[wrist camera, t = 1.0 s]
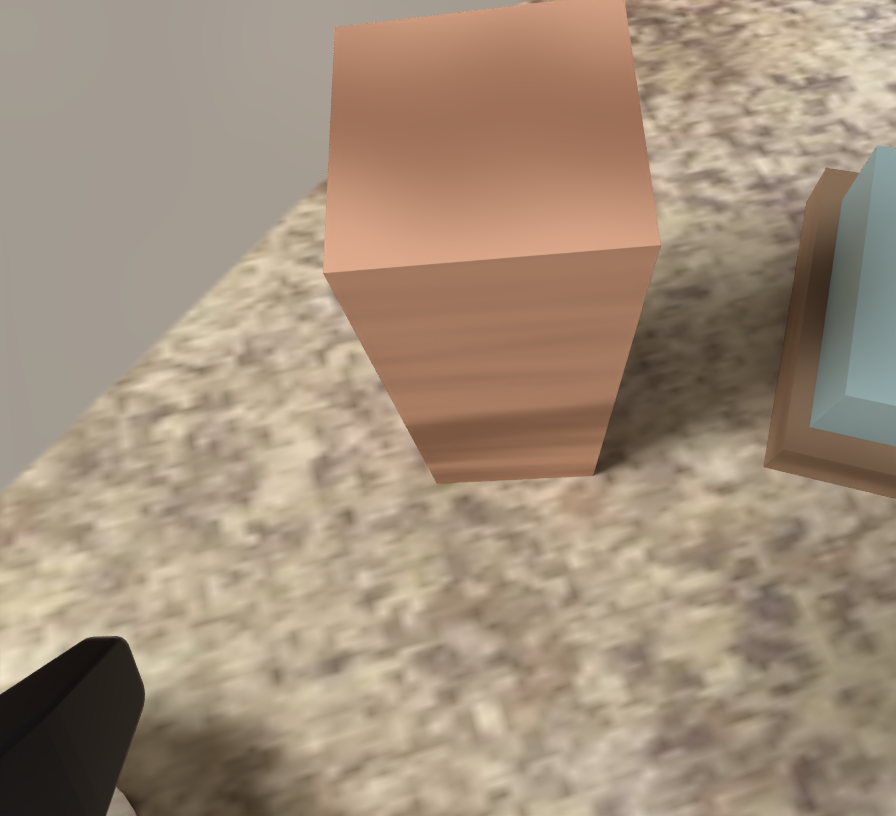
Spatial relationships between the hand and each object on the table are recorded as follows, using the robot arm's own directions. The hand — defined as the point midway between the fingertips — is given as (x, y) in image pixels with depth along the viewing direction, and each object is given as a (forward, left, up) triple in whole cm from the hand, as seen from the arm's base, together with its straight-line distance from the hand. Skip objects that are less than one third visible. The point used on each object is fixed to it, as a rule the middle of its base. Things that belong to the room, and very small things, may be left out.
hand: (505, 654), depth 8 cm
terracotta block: (+8, +2, -13) cm, 16 cm away
